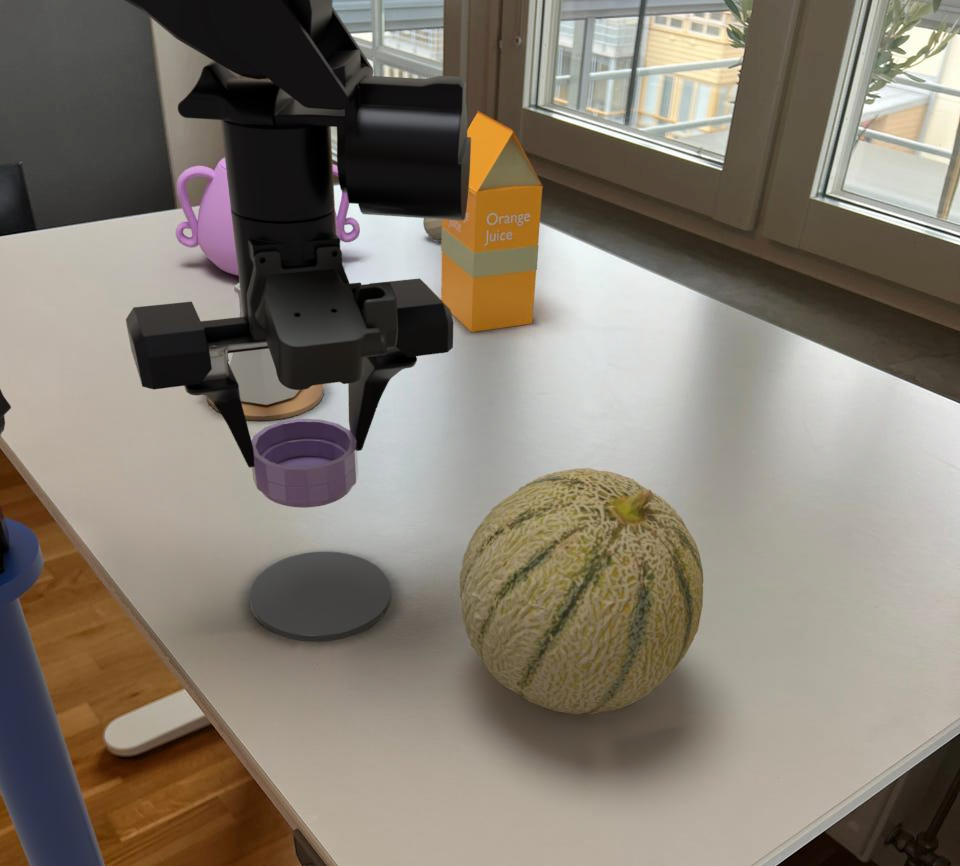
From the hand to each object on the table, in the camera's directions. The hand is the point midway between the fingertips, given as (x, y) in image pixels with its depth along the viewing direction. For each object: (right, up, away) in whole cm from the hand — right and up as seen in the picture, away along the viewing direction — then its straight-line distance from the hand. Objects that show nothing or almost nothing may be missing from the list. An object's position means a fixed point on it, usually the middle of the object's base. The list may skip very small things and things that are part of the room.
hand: (304, 456), depth 65 cm
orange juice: (+12, +25, +48) cm, 55 cm away
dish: (0, -2, +1) cm, 2 cm away
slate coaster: (0, -9, +6) cm, 11 cm away
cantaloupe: (+17, -15, 0) cm, 23 cm away
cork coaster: (-9, +12, +30) cm, 33 cm away
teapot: (-14, +33, +56) cm, 66 cm away
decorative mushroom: (+10, +39, +65) cm, 76 cm away
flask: (-9, +12, +30) cm, 33 cm away
